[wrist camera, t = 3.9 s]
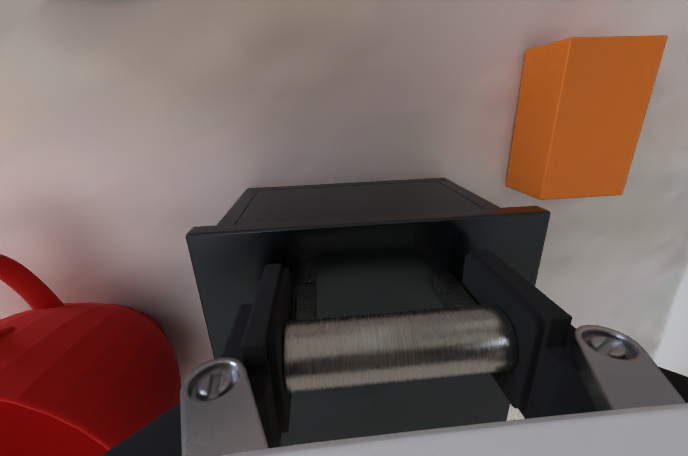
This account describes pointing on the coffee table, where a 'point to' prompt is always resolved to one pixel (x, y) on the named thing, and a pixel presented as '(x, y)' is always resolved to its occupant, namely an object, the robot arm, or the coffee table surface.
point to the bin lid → (376, 314)
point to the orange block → (581, 115)
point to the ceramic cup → (78, 372)
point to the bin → (351, 201)
